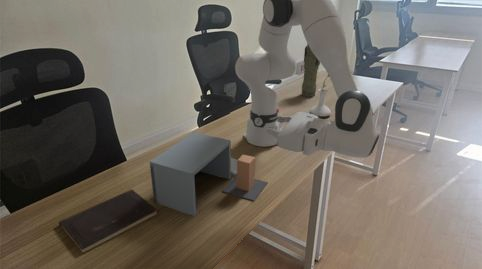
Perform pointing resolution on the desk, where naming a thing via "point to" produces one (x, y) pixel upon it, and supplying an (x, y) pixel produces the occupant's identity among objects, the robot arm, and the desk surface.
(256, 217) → the desk surface
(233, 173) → the hard drive
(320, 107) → the flower in vase
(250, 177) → the block
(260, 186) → the mat
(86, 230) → the hardcover book
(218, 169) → the cubby
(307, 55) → the thermos
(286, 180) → the desk surface
